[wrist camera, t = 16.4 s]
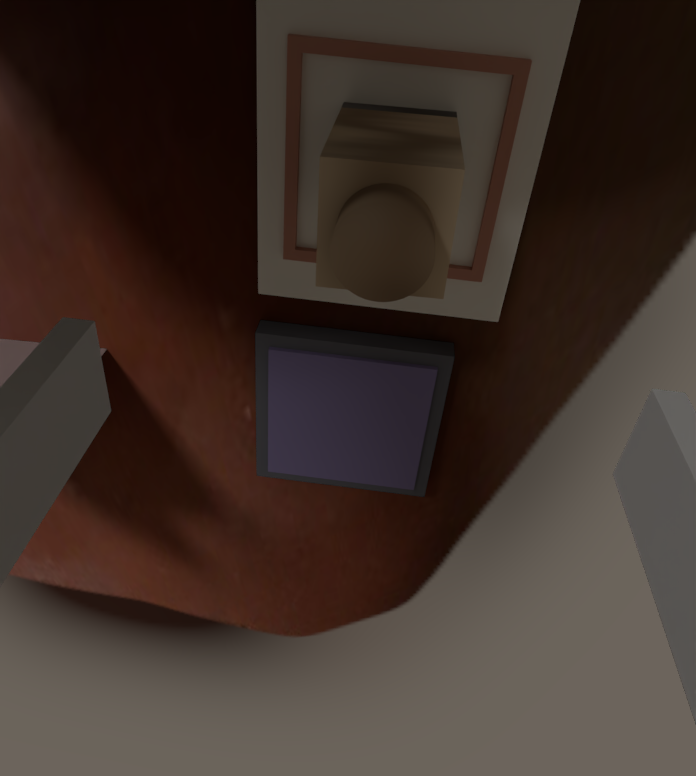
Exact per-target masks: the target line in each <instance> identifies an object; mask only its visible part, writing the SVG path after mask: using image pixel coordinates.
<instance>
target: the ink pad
mask: <svg viewBox="0 0 696 776" xmlns="http://www.w3.org/2000/svg"><path fill="white" fill-rule="evenodd" d="M255 357H256V458H257V476H264V477H272V478H280V479H288V480H296V481H303V482H311V483H319V484H327V485H335V486H342V487H350V488H358V489H366V490H374V491H382V492H389V493H397V494H405V495H413V496H421V497H424V496H425V492H426V487H427V482H428V478H429V473H430V469H431V464H432V459H433V455H434V450H435V445H436V441H437V436H438V432H439V427H440V422H441V418H442V413H443V408H444V404H445V399H446V395H447V390H448V385H449V381H450V376H451V372H452V367H453V362H454V358H455V354H454V343H449V342H441V341H433V340H424V339H416V338H408V337H400V336H391V335H383V334H375V333H366V332H358V331H350V330H341V329H333V328H325V327H316V326H308V325H300V324H291V323H283V322H275V321H266V320H260V322H259V325H258V327H257V330H256V332H255Z"/></svg>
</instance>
